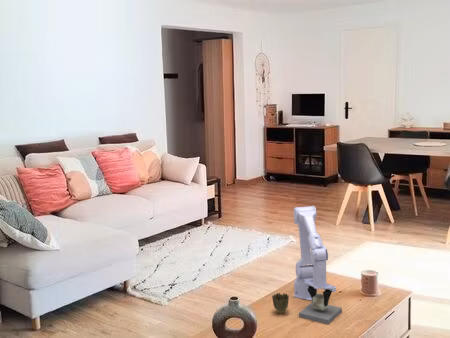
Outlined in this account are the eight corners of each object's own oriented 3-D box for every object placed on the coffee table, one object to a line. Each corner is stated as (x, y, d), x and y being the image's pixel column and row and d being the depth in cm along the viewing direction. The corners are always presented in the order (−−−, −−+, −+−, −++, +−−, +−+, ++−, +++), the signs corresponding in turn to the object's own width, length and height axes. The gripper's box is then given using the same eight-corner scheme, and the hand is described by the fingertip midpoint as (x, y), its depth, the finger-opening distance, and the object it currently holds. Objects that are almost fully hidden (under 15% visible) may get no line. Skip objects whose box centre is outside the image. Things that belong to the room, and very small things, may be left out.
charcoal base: (298, 317, 229) (298, 312, 228) (313, 305, 240) (313, 301, 239) (328, 324, 220) (328, 319, 220) (341, 312, 232) (341, 307, 231)
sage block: (312, 308, 229) (312, 297, 228) (317, 304, 233) (317, 293, 232) (323, 310, 226) (323, 299, 225) (328, 306, 230) (328, 295, 229)
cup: (290, 310, 236) (290, 293, 235) (287, 317, 229) (286, 299, 228) (274, 308, 239) (274, 292, 237) (271, 315, 232) (270, 298, 230)
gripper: (300, 274, 228) (301, 304, 230) (331, 280, 220) (331, 311, 222) (307, 269, 234) (308, 298, 236) (338, 275, 225) (338, 304, 228)
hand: (320, 304), depth 229 cm, fingers closed on sage block, 5 cm apart
